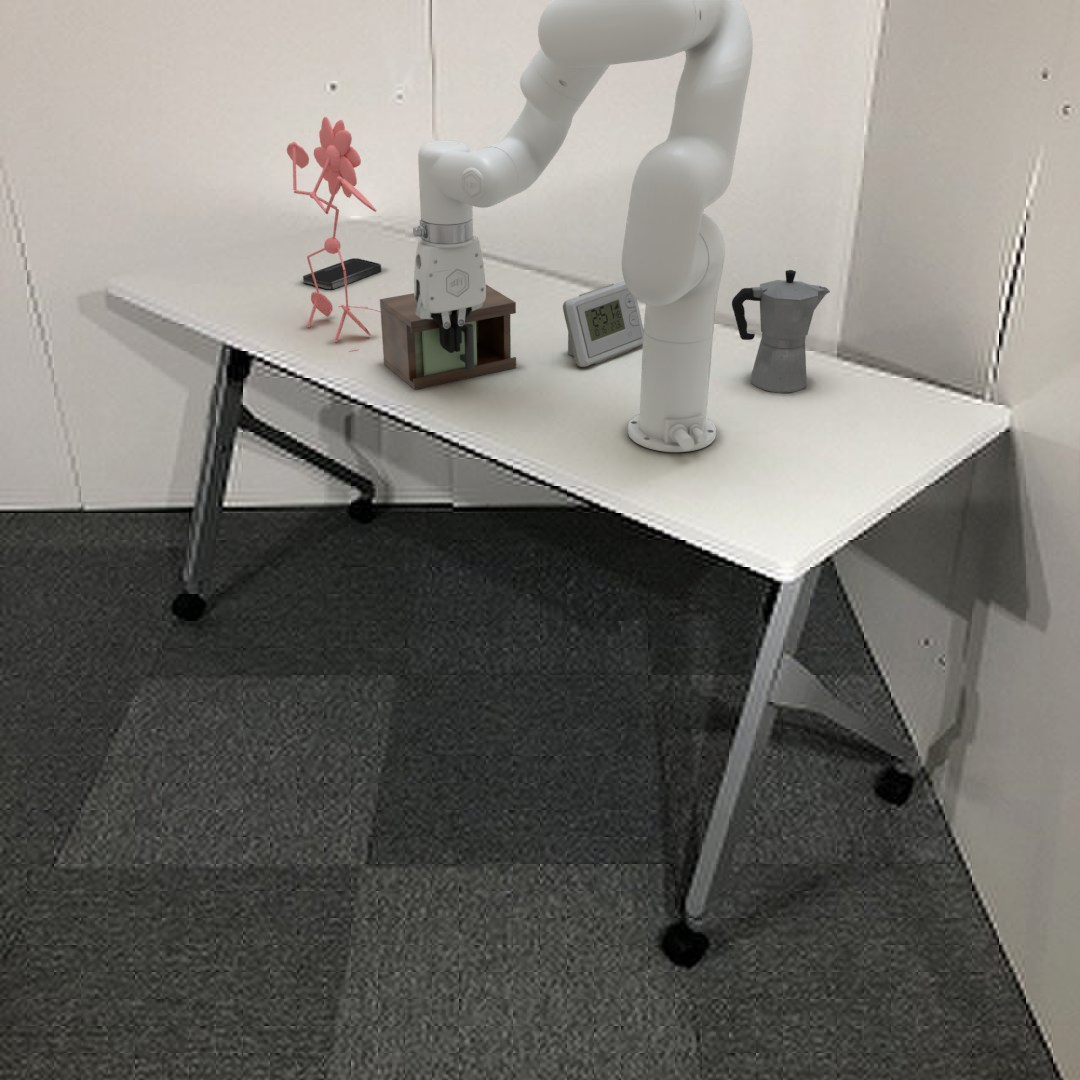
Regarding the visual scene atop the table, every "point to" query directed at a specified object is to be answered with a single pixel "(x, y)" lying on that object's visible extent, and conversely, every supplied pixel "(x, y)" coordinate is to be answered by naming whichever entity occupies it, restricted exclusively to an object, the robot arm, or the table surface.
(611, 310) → the digital clock
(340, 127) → the figurine
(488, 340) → the cabinet
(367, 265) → the phone
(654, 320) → the robot arm
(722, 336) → the table surface
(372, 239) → the table surface
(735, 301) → the coffeepot
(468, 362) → the sliding door
